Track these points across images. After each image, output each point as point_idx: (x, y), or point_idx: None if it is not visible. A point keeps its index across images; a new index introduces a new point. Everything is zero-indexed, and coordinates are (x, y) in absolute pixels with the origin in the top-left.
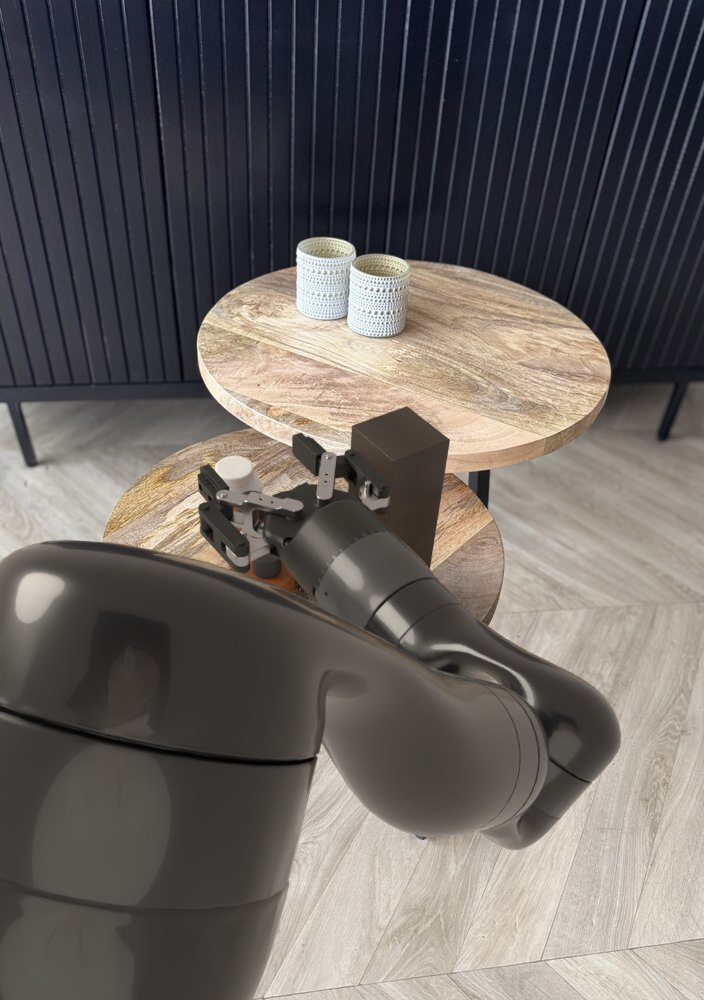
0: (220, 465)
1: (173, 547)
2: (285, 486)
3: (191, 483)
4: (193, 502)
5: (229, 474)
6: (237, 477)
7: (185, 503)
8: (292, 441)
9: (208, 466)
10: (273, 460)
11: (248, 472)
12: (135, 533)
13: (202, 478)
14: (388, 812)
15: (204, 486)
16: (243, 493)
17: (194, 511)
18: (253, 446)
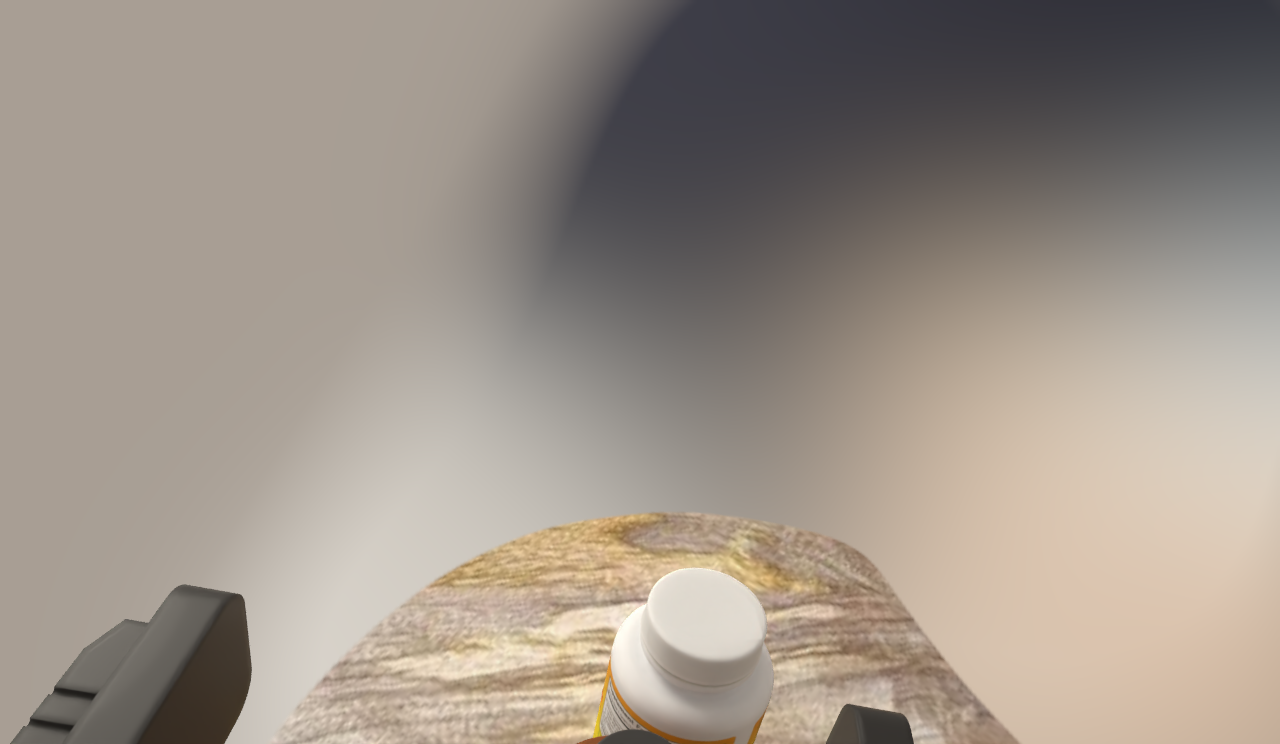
0: (675, 584)
1: (498, 707)
2: None
3: None
4: None
5: (676, 626)
6: (690, 650)
7: (618, 613)
8: (832, 732)
9: (200, 611)
10: (881, 629)
11: (733, 654)
12: (462, 617)
13: (103, 664)
14: None
15: (22, 732)
16: (632, 734)
17: None
18: (856, 570)
